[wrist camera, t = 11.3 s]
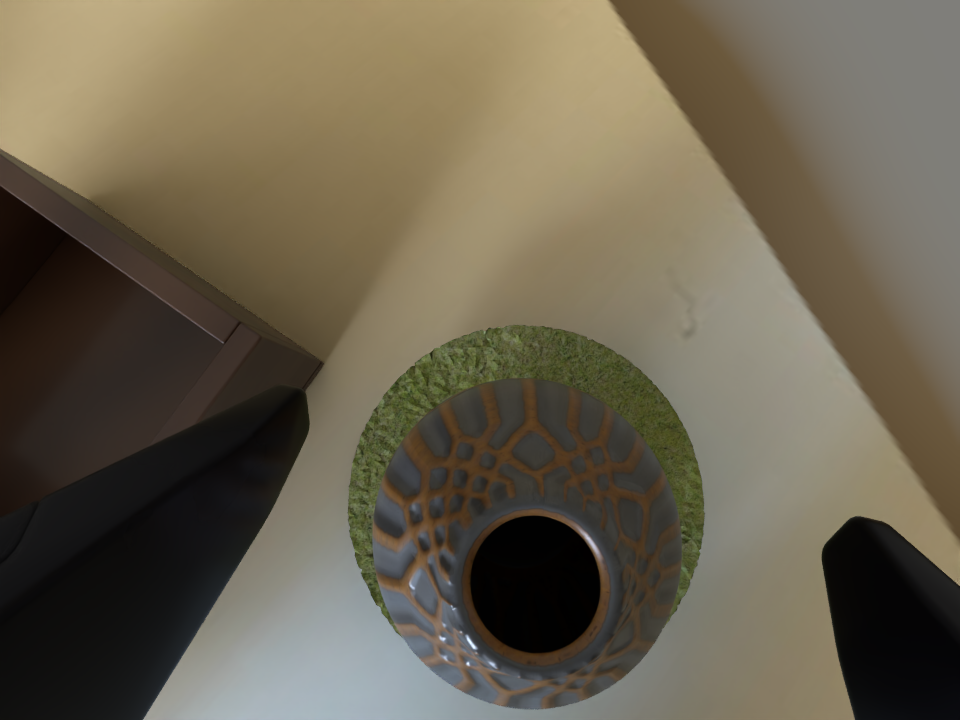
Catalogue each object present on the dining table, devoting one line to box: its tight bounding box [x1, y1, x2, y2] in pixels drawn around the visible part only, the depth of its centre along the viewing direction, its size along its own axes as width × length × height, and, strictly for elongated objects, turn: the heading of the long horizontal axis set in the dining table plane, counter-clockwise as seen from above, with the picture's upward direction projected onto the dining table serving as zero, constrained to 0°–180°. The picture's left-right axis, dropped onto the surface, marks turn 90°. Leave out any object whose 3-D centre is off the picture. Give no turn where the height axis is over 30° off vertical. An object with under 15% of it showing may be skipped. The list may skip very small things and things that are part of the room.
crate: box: [0, 149, 324, 517], centre depth 16 cm, size 13×13×5 cm
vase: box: [372, 378, 682, 709], centre depth 11 cm, size 7×7×9 cm
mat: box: [348, 325, 704, 638], centre depth 16 cm, size 11×11×2 cm
